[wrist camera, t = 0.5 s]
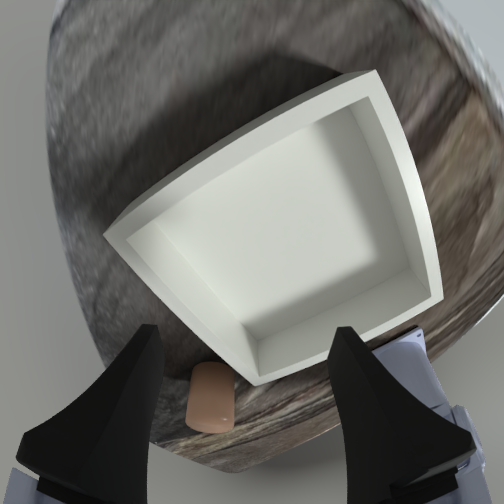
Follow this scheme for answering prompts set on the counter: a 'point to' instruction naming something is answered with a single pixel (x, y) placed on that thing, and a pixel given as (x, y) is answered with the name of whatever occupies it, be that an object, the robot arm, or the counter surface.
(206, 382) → the peach cylinder
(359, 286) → the bin
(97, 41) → the counter surface
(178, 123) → the counter surface
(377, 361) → the robot arm
